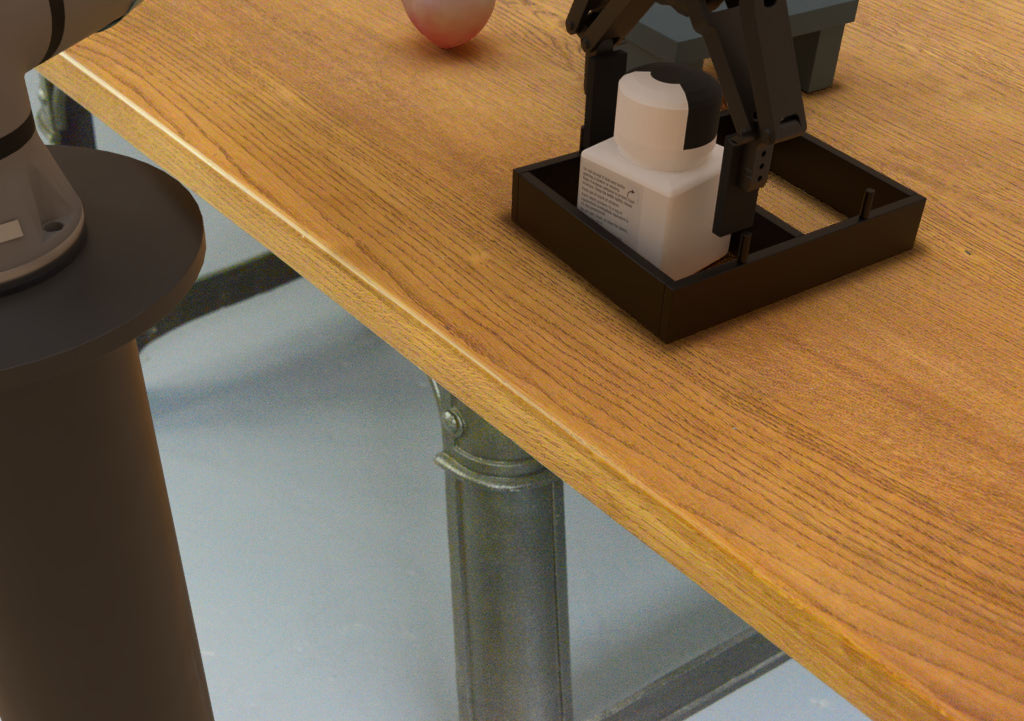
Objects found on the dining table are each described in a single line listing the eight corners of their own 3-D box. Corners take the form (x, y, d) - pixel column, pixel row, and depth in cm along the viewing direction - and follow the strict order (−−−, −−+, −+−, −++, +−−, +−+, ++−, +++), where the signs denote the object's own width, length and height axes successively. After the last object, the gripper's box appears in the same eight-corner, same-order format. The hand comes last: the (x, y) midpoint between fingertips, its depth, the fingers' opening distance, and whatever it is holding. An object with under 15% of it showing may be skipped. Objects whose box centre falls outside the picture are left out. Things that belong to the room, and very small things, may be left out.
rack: (510, 218, 82) (513, 142, 79) (743, 148, 92) (755, 77, 89) (666, 344, 71) (677, 261, 67) (913, 248, 81) (935, 171, 77)
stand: (587, 87, 101) (593, -3, 96) (756, 45, 110) (770, -39, 105) (666, 136, 94) (678, 42, 89) (840, 87, 103) (859, -2, 98)
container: (643, 213, 84) (663, 41, 76) (729, 255, 79) (759, 77, 71) (571, 251, 79) (584, 72, 71) (658, 298, 75) (682, 113, 67)
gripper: (925, -115, 57) (842, 253, 69) (617, -209, 73) (596, 102, 86) (815, -94, 53) (749, 289, 66) (519, -198, 70) (512, 125, 82)
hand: (662, 184), depth 76 cm, fingers open, 13 cm apart
